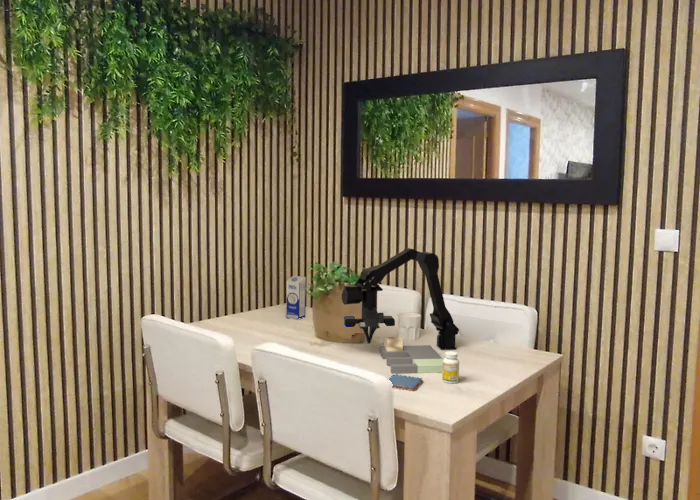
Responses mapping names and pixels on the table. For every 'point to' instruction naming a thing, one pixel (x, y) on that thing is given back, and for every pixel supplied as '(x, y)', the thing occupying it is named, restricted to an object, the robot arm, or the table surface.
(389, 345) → the maple block
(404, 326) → the cup
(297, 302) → the milk carton
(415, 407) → the table surface
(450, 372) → the supplement bottle
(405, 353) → the board
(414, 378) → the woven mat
